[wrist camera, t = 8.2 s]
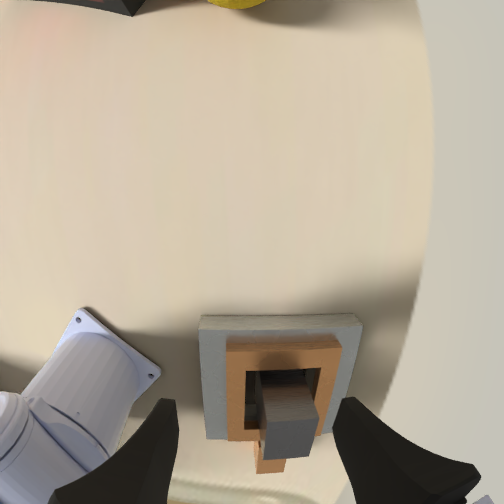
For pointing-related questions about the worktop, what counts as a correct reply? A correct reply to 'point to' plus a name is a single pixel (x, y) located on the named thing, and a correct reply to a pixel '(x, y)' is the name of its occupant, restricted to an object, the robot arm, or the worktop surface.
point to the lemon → (236, 3)
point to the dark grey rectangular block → (285, 414)
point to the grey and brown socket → (273, 368)
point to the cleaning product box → (107, 5)
